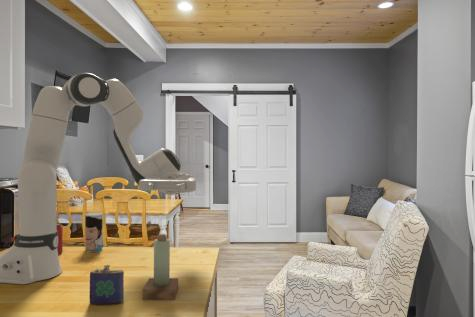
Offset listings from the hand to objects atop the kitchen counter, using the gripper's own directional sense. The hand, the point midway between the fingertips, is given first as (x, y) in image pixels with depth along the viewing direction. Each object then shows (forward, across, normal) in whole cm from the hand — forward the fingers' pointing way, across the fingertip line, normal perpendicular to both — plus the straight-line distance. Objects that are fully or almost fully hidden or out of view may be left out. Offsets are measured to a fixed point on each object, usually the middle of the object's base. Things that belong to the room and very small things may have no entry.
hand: (164, 187), depth 127 cm
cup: (-29, -34, +30) cm, 54 cm away
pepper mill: (+17, +2, +27) cm, 32 cm away
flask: (+24, -12, +30) cm, 40 cm away
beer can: (-23, -48, +30) cm, 61 cm away
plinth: (+17, +2, +30) cm, 34 cm away
